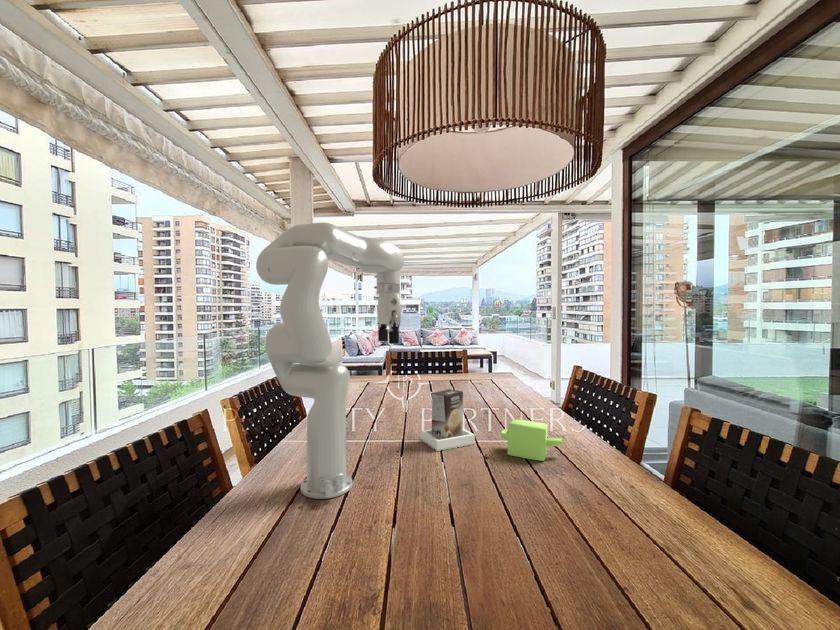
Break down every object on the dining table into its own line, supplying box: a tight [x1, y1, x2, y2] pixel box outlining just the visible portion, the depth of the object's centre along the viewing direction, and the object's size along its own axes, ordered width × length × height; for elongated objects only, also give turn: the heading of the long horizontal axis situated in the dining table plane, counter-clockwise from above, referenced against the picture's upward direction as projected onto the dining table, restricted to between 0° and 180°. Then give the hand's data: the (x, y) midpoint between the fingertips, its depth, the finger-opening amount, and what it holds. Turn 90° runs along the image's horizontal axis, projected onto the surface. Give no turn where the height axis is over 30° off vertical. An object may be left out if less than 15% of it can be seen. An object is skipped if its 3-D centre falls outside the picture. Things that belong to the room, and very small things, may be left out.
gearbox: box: [500, 419, 563, 462], centre depth 118 cm, size 18×10×10 cm, turn 66°
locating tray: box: [421, 428, 476, 452], centre depth 127 cm, size 11×14×3 cm
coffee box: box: [431, 389, 464, 440], centre depth 127 cm, size 9×6×16 cm
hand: (388, 342), depth 126 cm, fingers open, 9 cm apart
